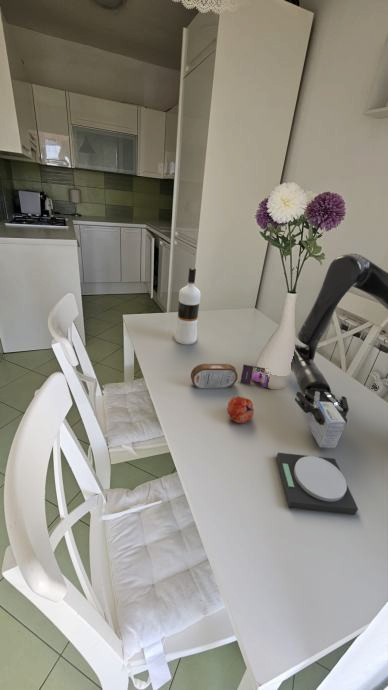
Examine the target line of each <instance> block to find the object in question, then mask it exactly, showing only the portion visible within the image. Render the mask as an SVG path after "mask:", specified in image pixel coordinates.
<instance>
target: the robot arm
mask: <svg viewBox="0 0 388 690" xmlns="http://www.w3.org/2000/svg"><path fill="white" fill-rule="evenodd" d="M352 288H355V289H357V290H359V291H361V292H363V293H366V294H367V295H369V296H370V297H372V298H374V299H375V300H377V301H378V302H379V303H380V305H382V306H383V307H384V308H385V309H386V311H388V272H387V271H386V270H384V269H382V268H381V267H380V266H378V265H377V264H376V263H374V262H373V261H371V260H369V259H368V258H367V257H365V256H363V255H361V254H359V253H346V254H342V255H339V256H337V257H336V258H334V259H333V260H332V261H331V263H330V264H329V266H328V269H327V272H326V274H325V277H324V280H323V282H322V285H321V287H320V291H319V292H318V295H317V297H316V300H315V302H314V304H313V306H312V307H311V309H310V311H309V313H308V314H307V317H306V318H305V320H304V321H303V323H302V325H301V327H300V329H299V331H298V333H297V339H298V341H299V342H300V343H302V344H304V345H305V346H303V345H299V344H296V343H294V344H295V349H294V356H293V359H292V362H291V370H290V371H291V372H293V374H294V376H295V378H296V383H297V385H298V387H299V390H300V391H301V392H300V391H297V392H296V393H295V397H294V401H295V402H296V404H297V405H298V406H299V407H300V409H301V410H302V411H303V413H305V414H308V413H310V414H311V416H312V415H313V416H314V418H315V420H316V422H318V423H319V425H323V423H324V420H325V418H324V416H323V414H322V412H321V410H320V409H318V408H319V406H318V404H317V402H332V403H333V405H334V406H335V408H336V409H337V410H338V412H339V413H340V415H341V416H342V418H343V419H344V421H345V422H346V424H345V426H344V428H345V427H346V425H347V423H348V419H347V417H346V416H347V414H348V412H349V410H350V408H349V403H348V399H347V397H346V396H343V395H342V396H341V397H336V395H335V394H333V393H332V390H331V386H330V385H329V383H328V381H327V379H326V378H325V376H324V375H323V373H322V372H321V370H320V369H319V368H318V366H317V365H316V363H315V362H314V360H315V356H316V352H317V349H318V346H319V343H320V341H321V339H322V338H323V336H324V335H325V333H326V331H327V329H328V328H329V326H330V324H331V321H332V319H333V316H334V314H335V311H336V309H337V307H338V306H339V304H340V302H341V301H342V299H343V298H344V297H345V295H346V294H347V293H348V292H349V291H350V289H352Z"/></svg>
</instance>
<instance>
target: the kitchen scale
mask: <svg viewBox="0 0 388 690" xmlns="http://www.w3.org/2000/svg"><path fill="white" fill-rule="evenodd" d="M275 461H276V465H277V469H278V473H279V477H280V481H281V484H282V488H283V489H282V490H283V492H284V497H285V500H286V505H287V508H288V509H296V510H304V511H312V512H313V511H314V512H323V513H333V514H341V515H350V516H351V515H352V516H355V515H356V514H357V512H358V511H359V508H358V506H357V503H356V501H355V498H354V497H353V495H352V493H351V490H350V488H349V486H348V484H347V480H346V478H345V476H344V475H343V473H342V471H341V469H340V466H339V465H338V463H337V460H336V458H332V457H331V458H330V457H323V456H315V455H314V456H313V455H306V454H305V455H304V454H296V453H295V454H294V453H286V452H277V453H276V457H275Z"/></svg>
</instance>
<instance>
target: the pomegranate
mask: <svg viewBox="0 0 388 690" xmlns="http://www.w3.org/2000/svg"><path fill="white" fill-rule="evenodd" d="M253 407H254V405H253V403H252V400H251V399H250V398H247V397H243V396H233V397H232V398H231V399H229V401H228V403H227V408H226V412H227V414H228V415H229V418H230V420H231V421H233V422H235V423H237V424H244V423H247V422H250V421H251V420H252V419H253V418H254V415H255V410H254V408H253Z"/></svg>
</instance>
